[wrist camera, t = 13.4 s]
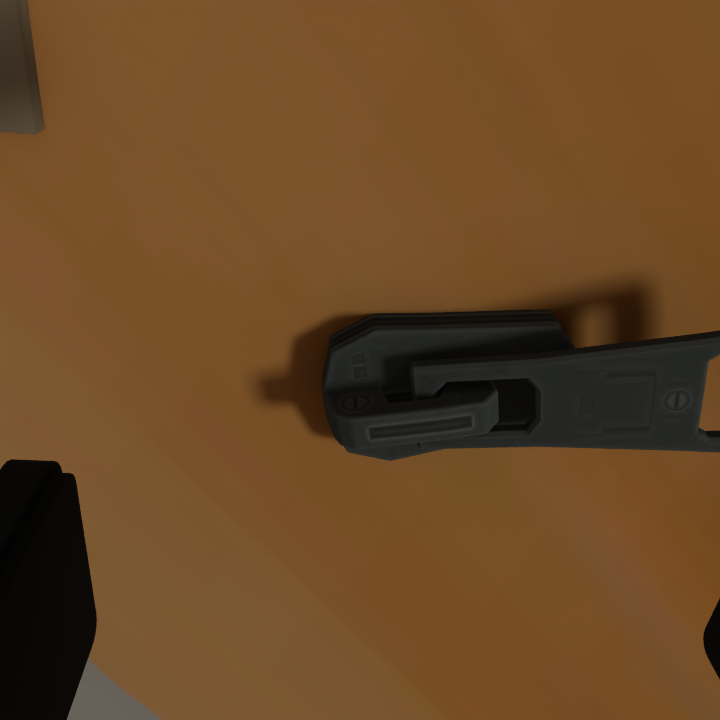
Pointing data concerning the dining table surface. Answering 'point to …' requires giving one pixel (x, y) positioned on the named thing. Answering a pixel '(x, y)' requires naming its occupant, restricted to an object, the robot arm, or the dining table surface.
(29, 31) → the board
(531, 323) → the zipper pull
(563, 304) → the dining table surface
